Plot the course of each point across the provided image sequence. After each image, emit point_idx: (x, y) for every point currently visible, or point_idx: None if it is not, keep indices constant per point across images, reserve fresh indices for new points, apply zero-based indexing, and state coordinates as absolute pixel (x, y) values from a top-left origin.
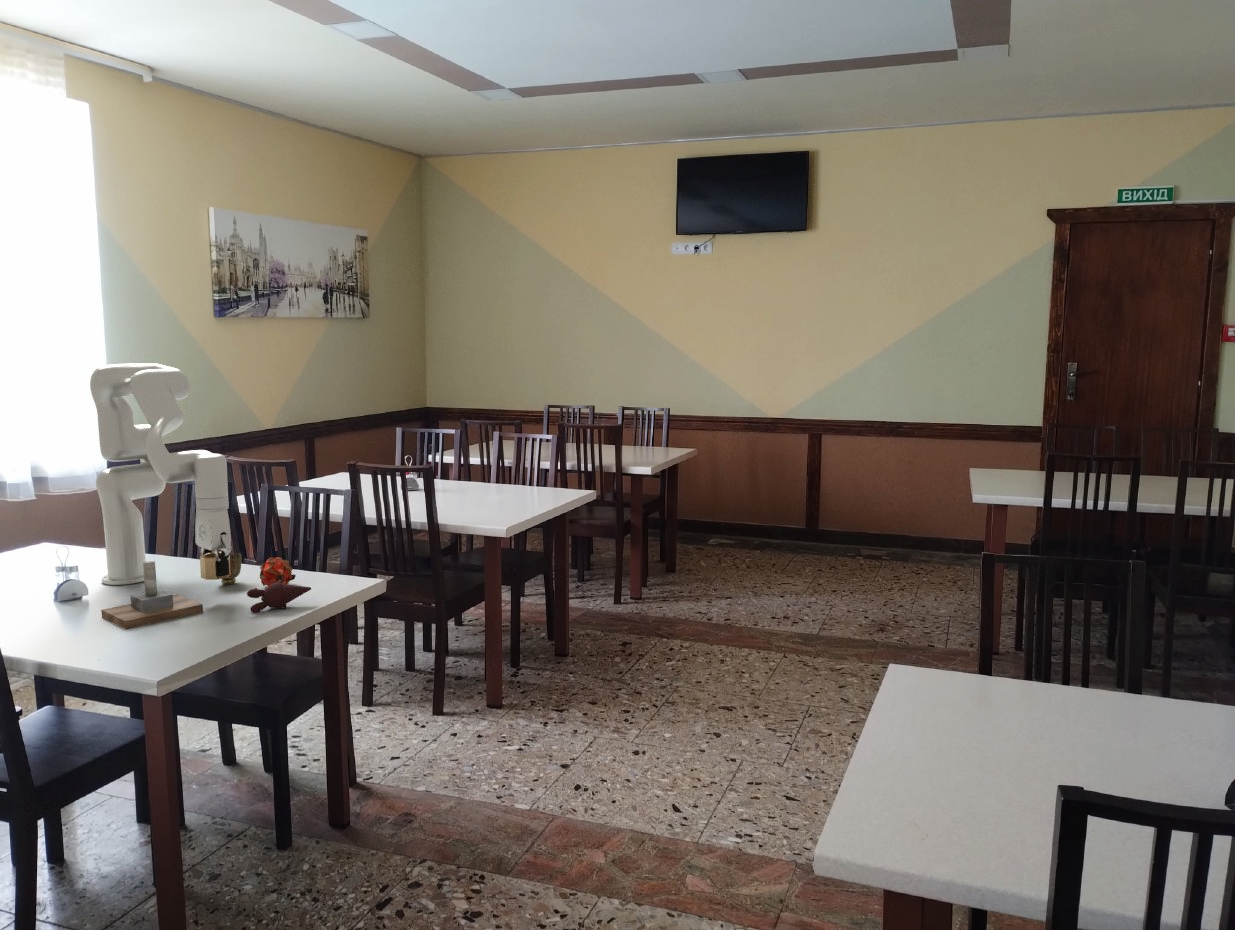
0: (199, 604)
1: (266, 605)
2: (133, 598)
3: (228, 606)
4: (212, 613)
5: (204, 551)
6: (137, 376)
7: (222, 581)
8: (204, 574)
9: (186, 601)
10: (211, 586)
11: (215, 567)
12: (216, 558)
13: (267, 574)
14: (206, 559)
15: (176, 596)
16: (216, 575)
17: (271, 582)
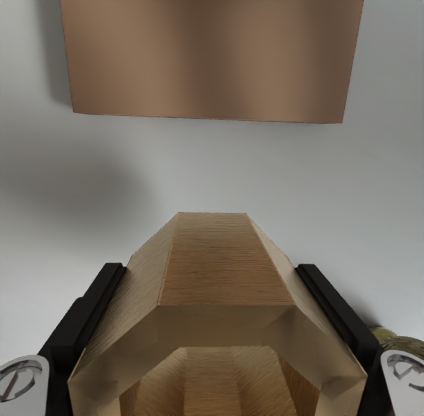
0: (75, 97)
1: None
2: None
3: (99, 219)
4: (39, 130)
5: (387, 409)
6: None
7: (383, 332)
8: (195, 223)
9: (182, 85)
10: (395, 296)
11: (98, 299)
12: (46, 381)
13: None
14: (146, 305)
15: (305, 99)
16: (109, 263)
17: None
